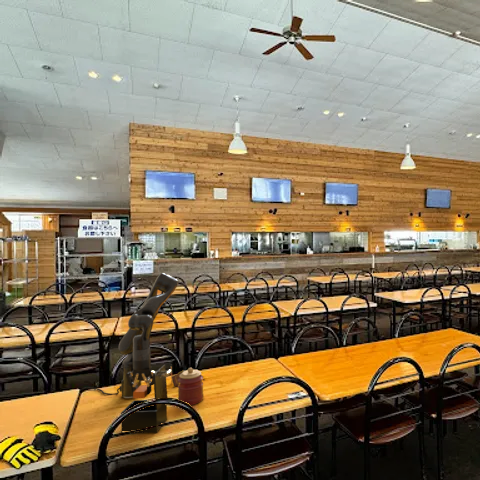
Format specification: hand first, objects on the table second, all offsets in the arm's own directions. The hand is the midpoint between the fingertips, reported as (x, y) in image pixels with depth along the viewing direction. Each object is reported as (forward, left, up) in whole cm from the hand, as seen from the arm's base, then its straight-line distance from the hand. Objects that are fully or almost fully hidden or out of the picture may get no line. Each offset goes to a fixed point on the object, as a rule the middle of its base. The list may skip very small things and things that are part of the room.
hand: (142, 393), depth 176 cm
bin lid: (+8, 0, +3) cm, 9 cm away
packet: (0, 0, 0) cm, 0 cm away
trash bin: (+1, 0, -15) cm, 15 cm away
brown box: (+4, +52, -15) cm, 55 cm away
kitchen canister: (+14, +27, -15) cm, 34 cm away
